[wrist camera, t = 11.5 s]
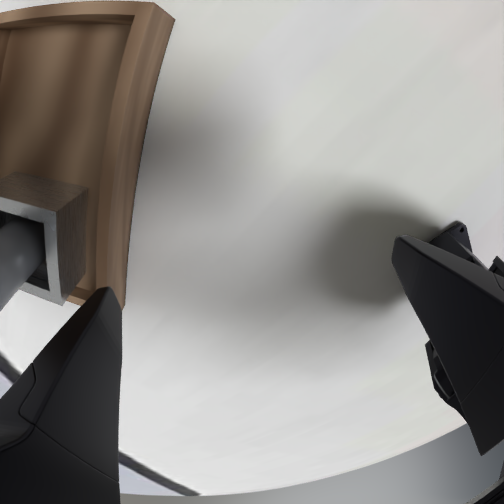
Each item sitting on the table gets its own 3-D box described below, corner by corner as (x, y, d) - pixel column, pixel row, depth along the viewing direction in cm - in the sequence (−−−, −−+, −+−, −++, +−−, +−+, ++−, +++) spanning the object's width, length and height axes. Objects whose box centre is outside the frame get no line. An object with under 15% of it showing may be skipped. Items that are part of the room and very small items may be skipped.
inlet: (88, 187, 20) (56, 212, 16) (86, 272, 23) (62, 305, 19) (15, 171, 19) (-21, 191, 15) (19, 250, 22) (-8, 277, 18)
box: (175, 19, 15) (154, 2, 11) (125, 304, 25) (107, 340, 22) (11, 21, 13) (-26, 19, 9) (1, 261, 24) (-24, 286, 20)
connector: (74, 216, 21) (-33, 330, 10) (60, 252, 22) (-29, 366, 11) (37, 189, 20) (-80, 283, 8) (26, 227, 21) (-71, 325, 10)
